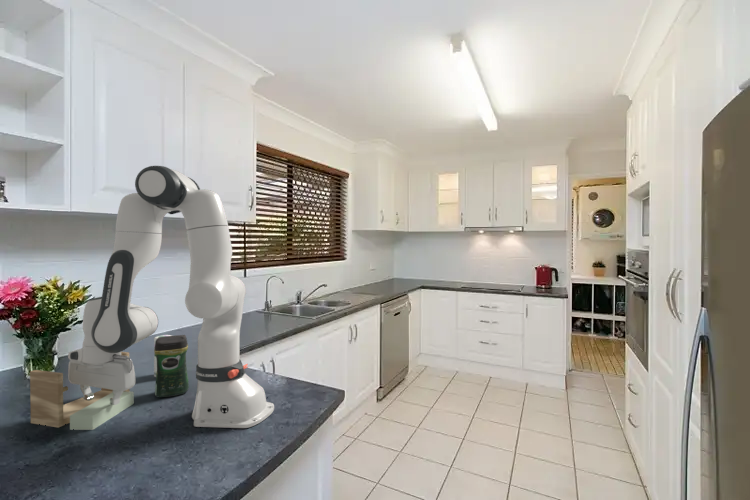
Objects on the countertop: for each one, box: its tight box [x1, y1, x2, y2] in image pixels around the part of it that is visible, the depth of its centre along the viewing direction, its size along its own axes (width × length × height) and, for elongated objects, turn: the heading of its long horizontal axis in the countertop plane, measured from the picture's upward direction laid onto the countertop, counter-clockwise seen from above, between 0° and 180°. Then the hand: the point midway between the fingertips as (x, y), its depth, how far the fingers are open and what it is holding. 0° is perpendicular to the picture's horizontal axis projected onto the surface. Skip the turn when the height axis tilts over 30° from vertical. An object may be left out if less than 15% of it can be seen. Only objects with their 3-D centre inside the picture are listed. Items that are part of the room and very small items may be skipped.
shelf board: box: [69, 391, 135, 431], centre depth 104 cm, size 16×6×4 cm, turn 179°
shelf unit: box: [29, 351, 131, 428], centre depth 108 cm, size 21×10×14 cm, turn 165°
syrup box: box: [153, 334, 173, 378], centre depth 136 cm, size 6×6×14 cm
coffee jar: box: [153, 334, 190, 398], centre depth 120 cm, size 10×8×19 cm
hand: (101, 401), depth 104 cm, fingers open, 8 cm apart
